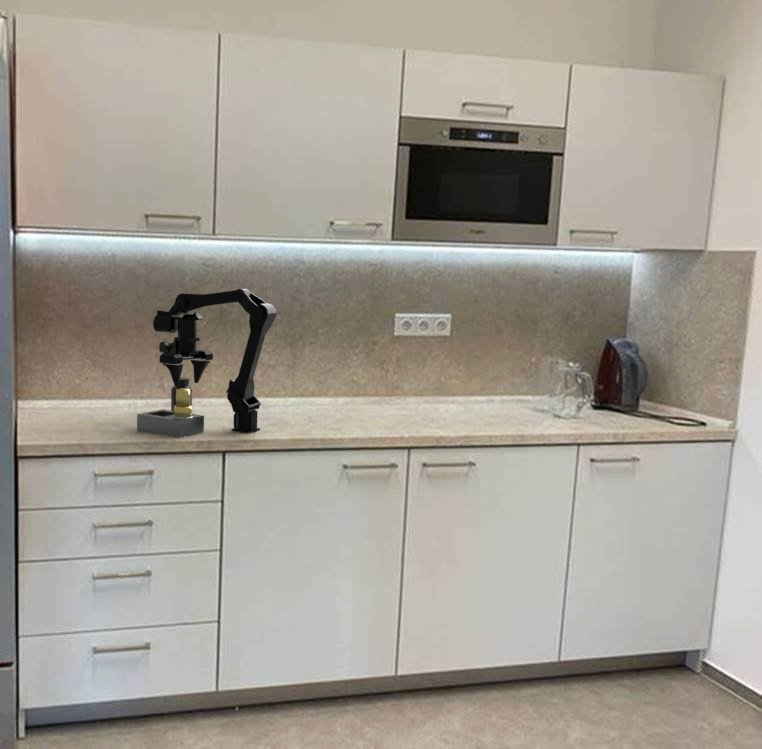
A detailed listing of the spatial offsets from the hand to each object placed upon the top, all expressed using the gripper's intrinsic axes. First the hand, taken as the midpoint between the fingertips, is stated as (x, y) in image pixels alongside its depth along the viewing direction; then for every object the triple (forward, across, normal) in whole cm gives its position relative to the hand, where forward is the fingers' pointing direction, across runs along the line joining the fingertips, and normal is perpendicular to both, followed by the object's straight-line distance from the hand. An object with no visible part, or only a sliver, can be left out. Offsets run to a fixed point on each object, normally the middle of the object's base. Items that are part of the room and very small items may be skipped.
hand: (186, 384), depth 267 cm
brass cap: (+7, +11, +8) cm, 16 cm away
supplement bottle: (+13, -12, -12) cm, 21 cm away
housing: (+12, +12, +4) cm, 17 cm away
